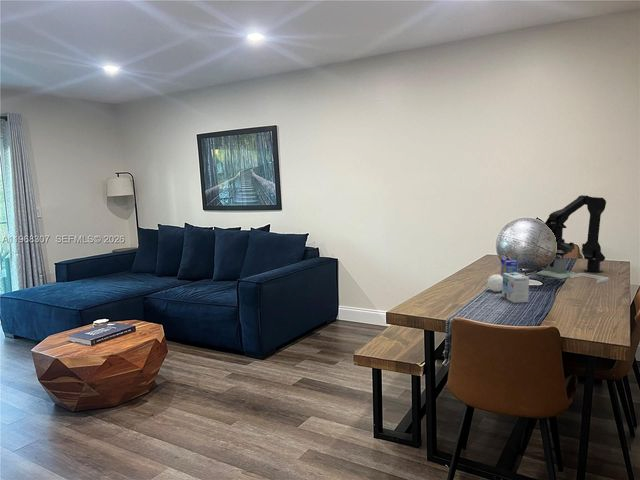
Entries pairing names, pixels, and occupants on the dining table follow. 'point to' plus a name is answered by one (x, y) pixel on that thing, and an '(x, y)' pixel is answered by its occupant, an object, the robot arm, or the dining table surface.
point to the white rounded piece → (495, 283)
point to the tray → (556, 274)
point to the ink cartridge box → (508, 265)
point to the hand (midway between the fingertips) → (554, 266)
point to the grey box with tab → (557, 265)
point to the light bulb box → (515, 287)
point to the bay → (602, 279)
